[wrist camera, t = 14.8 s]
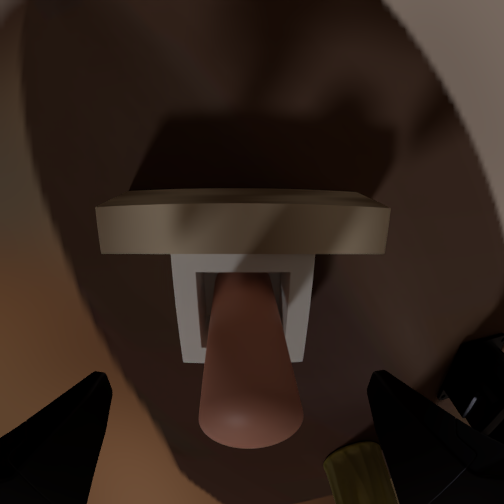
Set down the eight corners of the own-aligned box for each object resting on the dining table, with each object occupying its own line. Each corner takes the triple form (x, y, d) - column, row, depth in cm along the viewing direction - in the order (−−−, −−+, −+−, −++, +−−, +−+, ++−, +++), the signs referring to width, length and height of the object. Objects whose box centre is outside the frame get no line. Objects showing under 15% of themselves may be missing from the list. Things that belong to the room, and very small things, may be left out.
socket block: (300, 227, 16) (315, 249, 12) (292, 324, 18) (302, 361, 15) (184, 226, 15) (170, 249, 12) (191, 324, 18) (183, 362, 14)
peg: (272, 259, 16) (310, 384, 7) (270, 310, 17) (296, 445, 8) (213, 259, 16) (193, 387, 7) (215, 310, 17) (203, 448, 8)
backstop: (356, 192, 15) (390, 208, 11) (353, 228, 16) (384, 253, 12) (128, 191, 15) (95, 207, 11) (131, 227, 15) (101, 253, 12)
